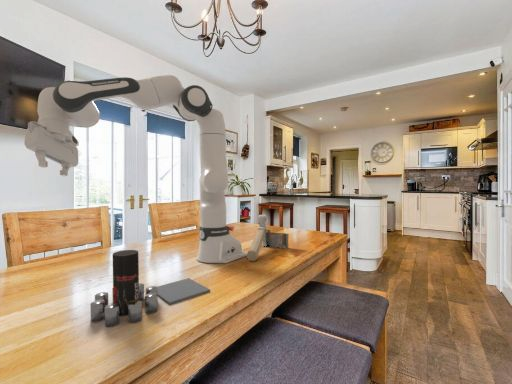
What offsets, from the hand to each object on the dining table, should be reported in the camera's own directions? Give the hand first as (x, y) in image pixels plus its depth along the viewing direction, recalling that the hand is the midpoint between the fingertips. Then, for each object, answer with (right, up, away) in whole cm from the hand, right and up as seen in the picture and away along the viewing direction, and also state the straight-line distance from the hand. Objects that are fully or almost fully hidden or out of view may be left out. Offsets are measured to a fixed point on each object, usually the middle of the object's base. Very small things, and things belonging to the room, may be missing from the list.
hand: (54, 171), depth 88 cm
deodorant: (+33, -38, -19) cm, 54 cm away
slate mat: (+43, -37, -7) cm, 57 cm away
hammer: (+68, -36, +38) cm, 85 cm away
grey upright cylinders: (+33, -37, -19) cm, 53 cm away
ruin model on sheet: (+77, -36, +48) cm, 98 cm away
